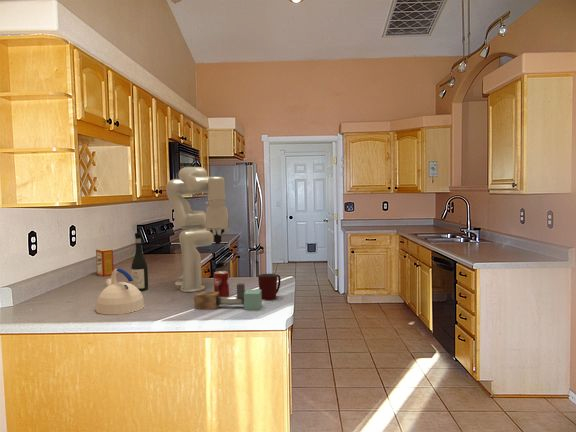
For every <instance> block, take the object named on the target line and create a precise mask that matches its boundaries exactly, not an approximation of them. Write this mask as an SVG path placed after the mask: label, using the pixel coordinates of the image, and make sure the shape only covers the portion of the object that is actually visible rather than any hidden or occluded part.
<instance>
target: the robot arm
mask: <svg viewBox="0 0 576 432" xmlns="http://www.w3.org/2000/svg"><path fill="white" fill-rule="evenodd" d="M225 184H226V183H225V179H224V177H223V176H208V172H207V170H206V168H204V167H203V166H202V167H201V166H185V167H182V168H180V169H179V171H178V178H174V179H171V180H169V181H168V182H167V183H166V185H165V186H166V190H165V191H166V195H167V198H168V201H169V202H170V204H171V205H172V207H173V210H174V213H175V214H174V215H175V219H176V221H177V224H178V227H179V228H180V229H182V231H181V232H180V233H179V244H180V248H181V249H180V250H181V266H182V268H181V269H182V280H181V281H175V283H174V284H175V286H176V287H180V288H179V291H180V292H184V293H195V292H196V293H198V292H202V291H203V290H205V289H206V288H205V285H202V284H203V283H202V259H201V258H202V257H201V253H200V252H199V251H198V249H197V248H199V247H200V248H201V247H207V246H211V245H212V244H213V243H215V245H220V244H221V243H222V235H223V234H224V233H225V232H228V231H230V227H229V226H230V221H229V212H228V208H227V206H226V188H225V187H226V186H225ZM197 194H207V196H208V200H207V201H205V203H204V204H205V205H207V207H206V209H205V210H206V211H204V210H193V209H192V208H191V204H190V203H189V201H188V200H187V199H186V198H184V197H183V196H186V195H187V196H188V195H197ZM182 195H183V196H182Z"/></svg>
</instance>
